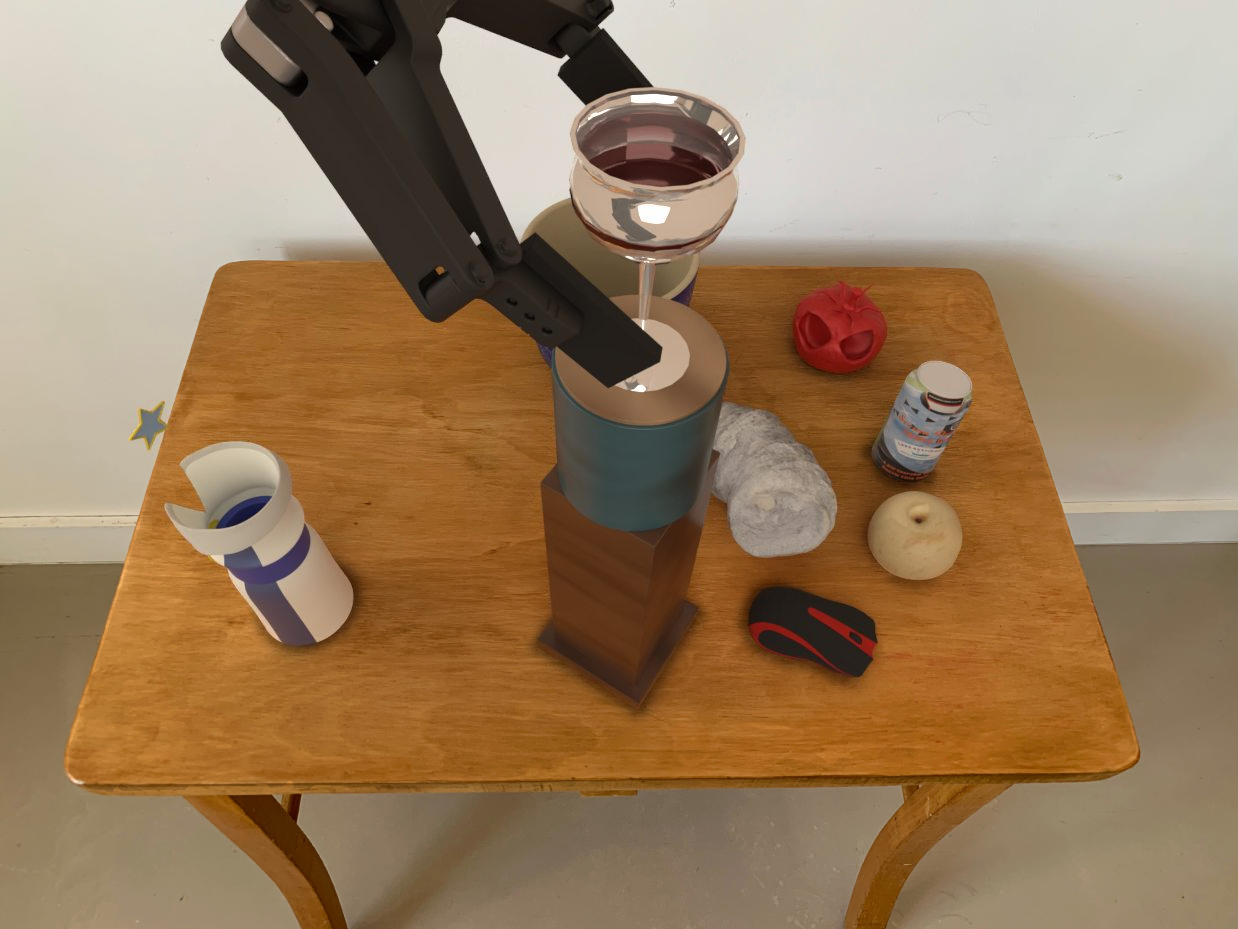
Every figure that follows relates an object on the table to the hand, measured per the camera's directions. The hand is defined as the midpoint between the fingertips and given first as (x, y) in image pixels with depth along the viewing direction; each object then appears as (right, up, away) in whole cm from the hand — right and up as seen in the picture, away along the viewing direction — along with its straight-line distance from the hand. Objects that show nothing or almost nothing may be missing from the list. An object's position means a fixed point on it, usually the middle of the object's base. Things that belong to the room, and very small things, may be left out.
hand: (657, 252), depth 34 cm
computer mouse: (+15, -24, +35) cm, 45 cm away
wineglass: (-1, -4, +6) cm, 7 cm away
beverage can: (+27, -9, +46) cm, 54 cm away
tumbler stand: (-2, -24, +34) cm, 42 cm away
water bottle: (-29, -22, +35) cm, 50 cm away
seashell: (+10, -12, +43) cm, 46 cm away
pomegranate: (+22, +3, +54) cm, 59 cm away
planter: (-3, +2, +52) cm, 53 cm away
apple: (+25, -18, +40) cm, 50 cm away
